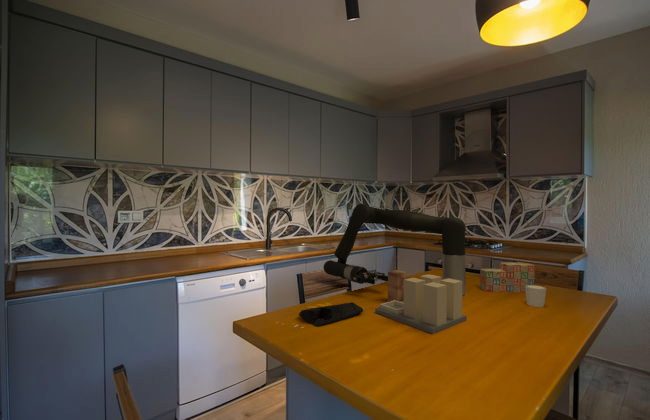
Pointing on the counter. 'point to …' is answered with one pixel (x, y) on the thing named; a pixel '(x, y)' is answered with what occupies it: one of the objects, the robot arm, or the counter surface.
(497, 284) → the stack of blocks
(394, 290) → the terracotta pillar
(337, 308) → the dark slate chunk
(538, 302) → the beige piece
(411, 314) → the pillar board
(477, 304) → the counter surface
